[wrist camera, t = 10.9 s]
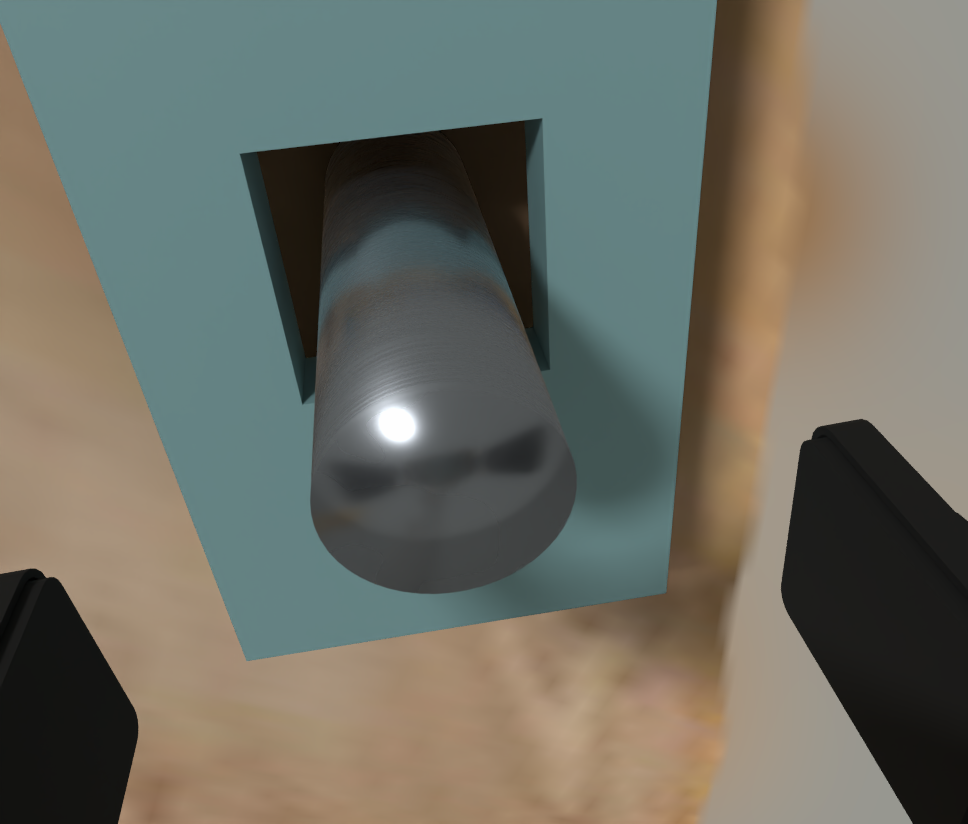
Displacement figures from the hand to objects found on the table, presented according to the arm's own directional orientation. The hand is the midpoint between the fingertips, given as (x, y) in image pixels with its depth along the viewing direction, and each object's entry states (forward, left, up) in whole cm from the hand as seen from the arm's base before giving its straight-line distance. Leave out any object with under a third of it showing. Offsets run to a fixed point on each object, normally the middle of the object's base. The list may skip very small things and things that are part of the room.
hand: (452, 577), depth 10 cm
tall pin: (0, 0, -13) cm, 13 cm away
